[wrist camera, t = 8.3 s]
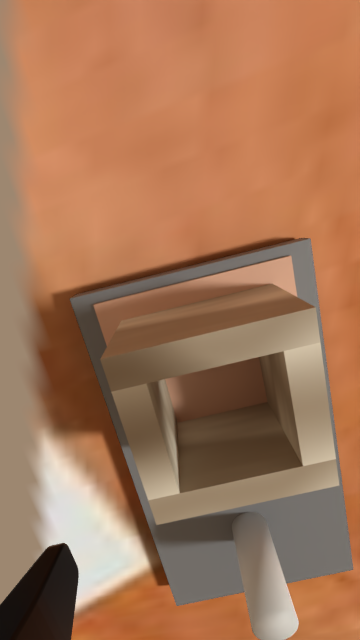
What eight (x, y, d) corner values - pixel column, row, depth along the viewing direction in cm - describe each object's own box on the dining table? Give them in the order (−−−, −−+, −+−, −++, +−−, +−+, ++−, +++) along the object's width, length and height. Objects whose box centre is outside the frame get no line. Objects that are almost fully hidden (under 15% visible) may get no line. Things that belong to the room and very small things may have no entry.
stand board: (344, 553, 20) (409, 675, 15) (176, 588, 21) (178, 719, 15) (301, 237, 15) (378, 243, 9) (76, 294, 16) (22, 331, 10)
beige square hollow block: (294, 417, 16) (339, 485, 12) (160, 447, 17) (156, 525, 12) (272, 283, 14) (315, 307, 10) (121, 320, 15) (100, 359, 10)
